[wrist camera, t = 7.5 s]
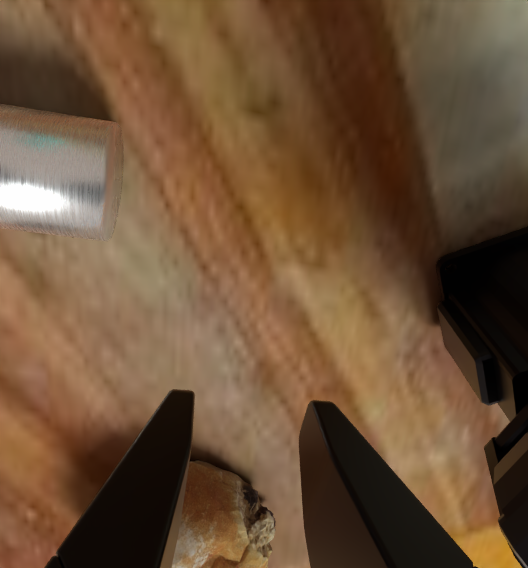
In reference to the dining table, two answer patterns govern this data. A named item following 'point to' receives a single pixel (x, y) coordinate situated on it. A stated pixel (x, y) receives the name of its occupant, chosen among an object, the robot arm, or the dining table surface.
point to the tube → (59, 173)
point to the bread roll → (222, 522)
